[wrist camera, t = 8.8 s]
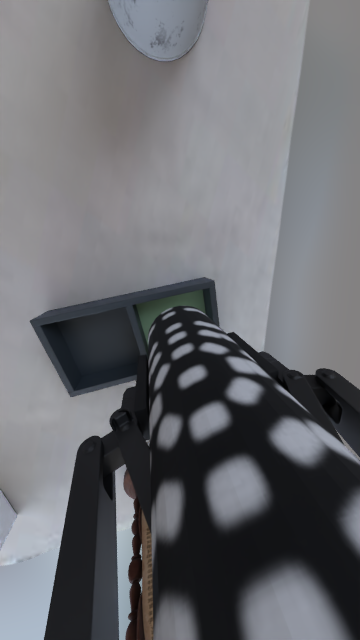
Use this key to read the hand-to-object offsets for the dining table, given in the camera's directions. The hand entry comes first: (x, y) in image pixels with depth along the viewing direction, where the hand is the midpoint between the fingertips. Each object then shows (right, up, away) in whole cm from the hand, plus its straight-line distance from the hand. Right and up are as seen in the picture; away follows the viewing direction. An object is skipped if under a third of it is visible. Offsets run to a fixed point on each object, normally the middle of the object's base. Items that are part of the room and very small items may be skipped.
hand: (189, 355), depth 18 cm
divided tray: (-7, +2, +9) cm, 11 cm away
